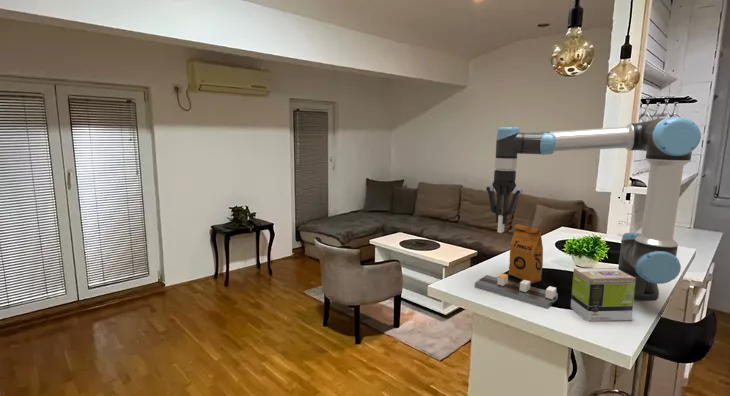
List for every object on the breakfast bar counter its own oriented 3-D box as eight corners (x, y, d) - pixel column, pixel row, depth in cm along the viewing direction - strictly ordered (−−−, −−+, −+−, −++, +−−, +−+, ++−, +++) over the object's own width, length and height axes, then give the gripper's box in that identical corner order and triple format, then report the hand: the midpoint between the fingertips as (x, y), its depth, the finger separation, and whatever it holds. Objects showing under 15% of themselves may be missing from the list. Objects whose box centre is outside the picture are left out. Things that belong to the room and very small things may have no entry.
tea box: (611, 307, 134) (616, 266, 132) (632, 321, 125) (638, 277, 122) (568, 307, 134) (573, 266, 131) (586, 321, 124) (591, 278, 121)
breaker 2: (529, 288, 144) (530, 281, 143) (526, 292, 141) (526, 284, 140) (523, 287, 145) (523, 279, 145) (519, 290, 142) (520, 282, 142)
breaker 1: (507, 283, 149) (508, 274, 148) (503, 286, 146) (504, 277, 145) (501, 281, 151) (502, 273, 150) (497, 284, 148) (497, 276, 147)
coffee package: (530, 285, 153) (535, 231, 149) (504, 275, 163) (508, 224, 159) (545, 280, 158) (550, 228, 154) (519, 271, 168) (523, 222, 165)
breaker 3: (555, 295, 138) (556, 287, 137) (552, 299, 135) (553, 291, 134) (548, 294, 139) (549, 286, 139) (545, 297, 136) (545, 289, 136)
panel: (560, 299, 140) (560, 294, 140) (551, 309, 132) (551, 303, 132) (486, 279, 158) (486, 274, 158) (474, 287, 150) (474, 282, 150)
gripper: (526, 170, 141) (521, 233, 145) (492, 167, 149) (488, 227, 153) (519, 171, 135) (514, 237, 139) (484, 169, 144) (480, 230, 148)
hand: (500, 231), depth 146 cm, fingers closed
